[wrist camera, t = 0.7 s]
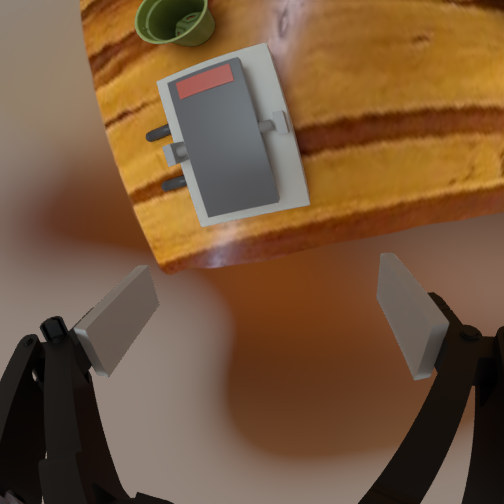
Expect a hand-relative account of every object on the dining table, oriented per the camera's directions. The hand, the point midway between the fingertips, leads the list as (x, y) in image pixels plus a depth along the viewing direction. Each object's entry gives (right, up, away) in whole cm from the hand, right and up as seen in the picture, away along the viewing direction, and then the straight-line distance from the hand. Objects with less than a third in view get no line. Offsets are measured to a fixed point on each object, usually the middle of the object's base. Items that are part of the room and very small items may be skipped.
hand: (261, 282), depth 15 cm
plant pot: (-8, +33, +14) cm, 37 cm away
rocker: (-3, +13, +12) cm, 19 cm away
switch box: (-5, +17, +21) cm, 28 cm away
